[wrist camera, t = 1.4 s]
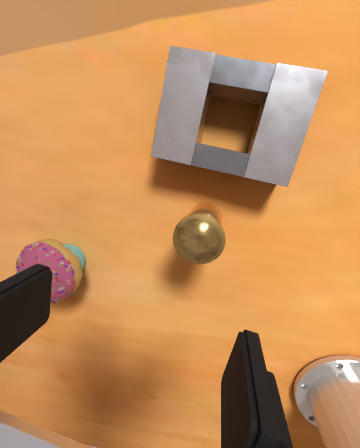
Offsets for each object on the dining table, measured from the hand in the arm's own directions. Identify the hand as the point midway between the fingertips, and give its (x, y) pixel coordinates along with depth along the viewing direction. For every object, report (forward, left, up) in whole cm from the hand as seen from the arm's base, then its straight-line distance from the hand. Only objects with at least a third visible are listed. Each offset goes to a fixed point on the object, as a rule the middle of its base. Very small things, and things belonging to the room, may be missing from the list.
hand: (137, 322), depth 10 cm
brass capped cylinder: (-2, -1, -19) cm, 19 cm away
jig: (-2, -12, -19) cm, 23 cm away
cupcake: (+16, +10, -19) cm, 27 cm away
